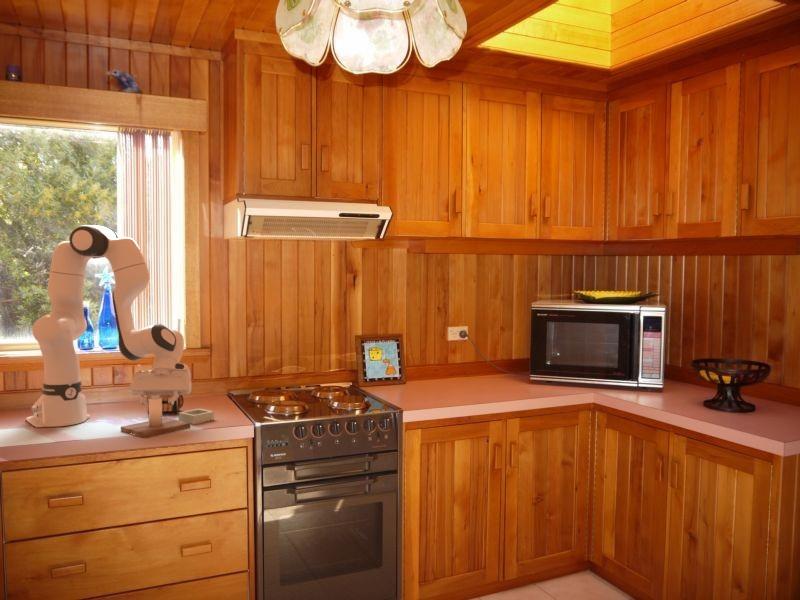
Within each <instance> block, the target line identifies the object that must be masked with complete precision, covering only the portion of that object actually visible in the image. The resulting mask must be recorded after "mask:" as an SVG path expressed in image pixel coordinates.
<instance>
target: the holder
mask: <svg viewBox="0 0 800 600" xmlns="http://www.w3.org/2000/svg"><path fill="white" fill-rule="evenodd" d="M178 412H179V411H178ZM214 419H215V412H214V411H213V410H209V409H204V408H195V409H190V410H185V411H180V412H179V413H178V420H179V421H183V422H188V423H190V425H199V424H202V423H206V421H207V422H210V420H211V421H214Z"/></svg>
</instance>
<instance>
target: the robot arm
mask: <svg viewBox="0 0 800 600" xmlns="http://www.w3.org/2000/svg"><path fill="white" fill-rule="evenodd" d="M54 248H55V249H54V252H53V255H52V259H51V261H50V262H51V263H50V269H49V276H48V285H47V293H46V294H47V296H48V297H49V300H50V305H51V306H50V307H51V313H47V314H44V315H43V316H41V317H40V318H38V319H37V320H36V321H35V322H34V323H33V326H32V336H33V338H34V339H35V341H36V342H37V343H38V345H39V349H40V352H41V356H42V360H43V370H44V371H43V373H44V374H43V375H44V376H43V377H44V383H43V384H42V388H41V389H42V391H41V393H42V395H41V396H39V398H38V399H37V401H35V403H33V406H31V407H30V411H31V413H32V414H33V415H31V416H27V417H26V419H25V420H27V421H26V422H27V423H29V424H30V425H31V426H33V427H34V426H35V427H34V428H44V427H45V428H46V427H47V428H48V427H54V428H55V427H64V426H65V427H66V426H73V425H77V424H80V423H81V424H82V423H84V422H85V421H86V420H88V419H90V418H91V414H88V411H87V410H88V409H87V402H86V396H85V395H84V394H83V393H82V389H83V388H82V387H83V385H82V381H81V374H80V373H81V372H80V370H81V369H80V368H81V367H80V365H81V364H80V358H79V356H78V355H77V353H76V349H75V346H74V341H76V340H78V339H79V338H81V336H83V334H85V333H86V330H87V327H88V321H87V320H86V317H85V311H84V287H85V278H86V272H87V271H86V270H87V264H88V262H89V260H91V259H101V258H105V259H107V261H108V262H109V264H110V266H111V267H110V268H111V270H112V272H113V275H114V282H115V284H114V290H113V292H112V294H111V295H112V296H111V297H112V305H113V311H114V317H115V322H116V323H115V324H116V327H117V329H116V330H117V334H118V350H119V352H120V354H121V355H122V356H123V357H124V358H126V359H128V360H130V361H133V362H134V361H137V360H140V359H142V358H145V357H147V356H150V355H154V357H155V358H154V360H153V362H152V363H153V364H152V367H151V370H139V371H137V372H134V373H133V375H132V380H131V382H130V384H129V391H130V394H131V395H132V396H138V397H139V406H146V403H147V399H146V398H145V397H146V396H147V395H173V397H172V398H169V401H168V404H169V405H174V401H175V400H176V399H177V398H178V397H179V395H182V396H188V395H189V394H190V393H191V392H192V386H193V385H192V374H191V370H190V367H189V366H188V365H187V364H185V363H181V362H180V361H181V359H182V356H183V353H184V347H185V340H184V336H183V334H182V333H181V332H180V331H178V330H177V329H172V328H171V329H169V328H168V327H167V326H165V325H164V324H161V323H155V324H151V325H147V326H145V327H143V328H139V329H136V328H135V325H134V318H133V313H132V306H133V302H134V301H135V299H137V297H138V296H139V295H140V294H141V293H143V291H145V289H146V288H147V287H148V284H149V282H150V272H149V269H148V266H147V262H146V260H145V258H144V255H143V253H142V251H141V249H140V247H139V245H138V243H137V242H136V241H135V240H134V239H133V238H131V237H128V236H122V237H121V236H119V235H118V234H117V232H116V231H114V230H113V229H111V228H110V227H106V226H102V225H99V224H97V225H96V224H94V225H93V224H92V225H90V224H84V225H79V226H77V227H76V228H74V229H73V230H72V231H71V233H70V235H69V240H66V241H62V242H60V243H58V244H57V245H56V246H55V247H54Z"/></svg>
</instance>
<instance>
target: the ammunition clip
mask: <svg viewBox="0 0 800 600" xmlns="http://www.w3.org/2000/svg"><path fill="white" fill-rule="evenodd" d="M160 397H161V398H162V415H177V414H178V415H179V410H178V400H177V399H176V400H175V401H174V405H169V404H168V401H169V398H172V397H173V395H160ZM149 398H151V395H148V400H149ZM148 414H149V401H147V415H148Z"/></svg>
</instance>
